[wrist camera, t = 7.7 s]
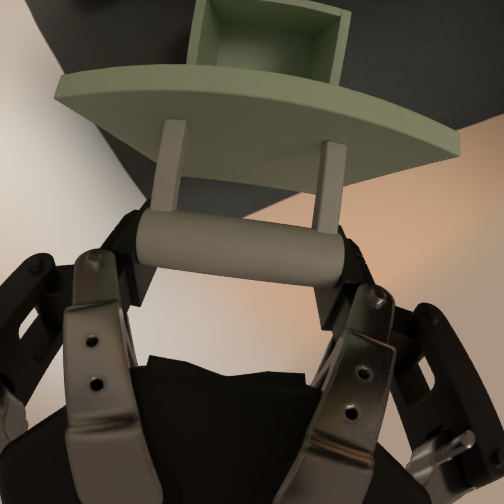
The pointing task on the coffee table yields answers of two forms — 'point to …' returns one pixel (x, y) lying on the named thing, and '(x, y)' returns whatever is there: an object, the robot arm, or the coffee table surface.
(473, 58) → the coffee table surface
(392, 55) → the coffee table surface
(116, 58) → the coffee table surface
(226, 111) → the bin lid
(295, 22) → the bin
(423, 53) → the coffee table surface
